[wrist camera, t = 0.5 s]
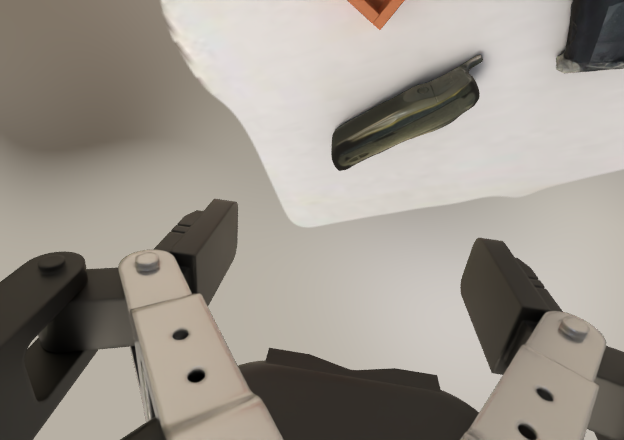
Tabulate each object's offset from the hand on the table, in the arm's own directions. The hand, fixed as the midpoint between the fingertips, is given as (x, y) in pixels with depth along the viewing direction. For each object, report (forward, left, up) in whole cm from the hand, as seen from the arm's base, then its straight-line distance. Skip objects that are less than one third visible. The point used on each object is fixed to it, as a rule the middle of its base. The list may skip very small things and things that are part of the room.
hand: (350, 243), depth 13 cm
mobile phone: (+8, -1, -26) cm, 27 cm away
